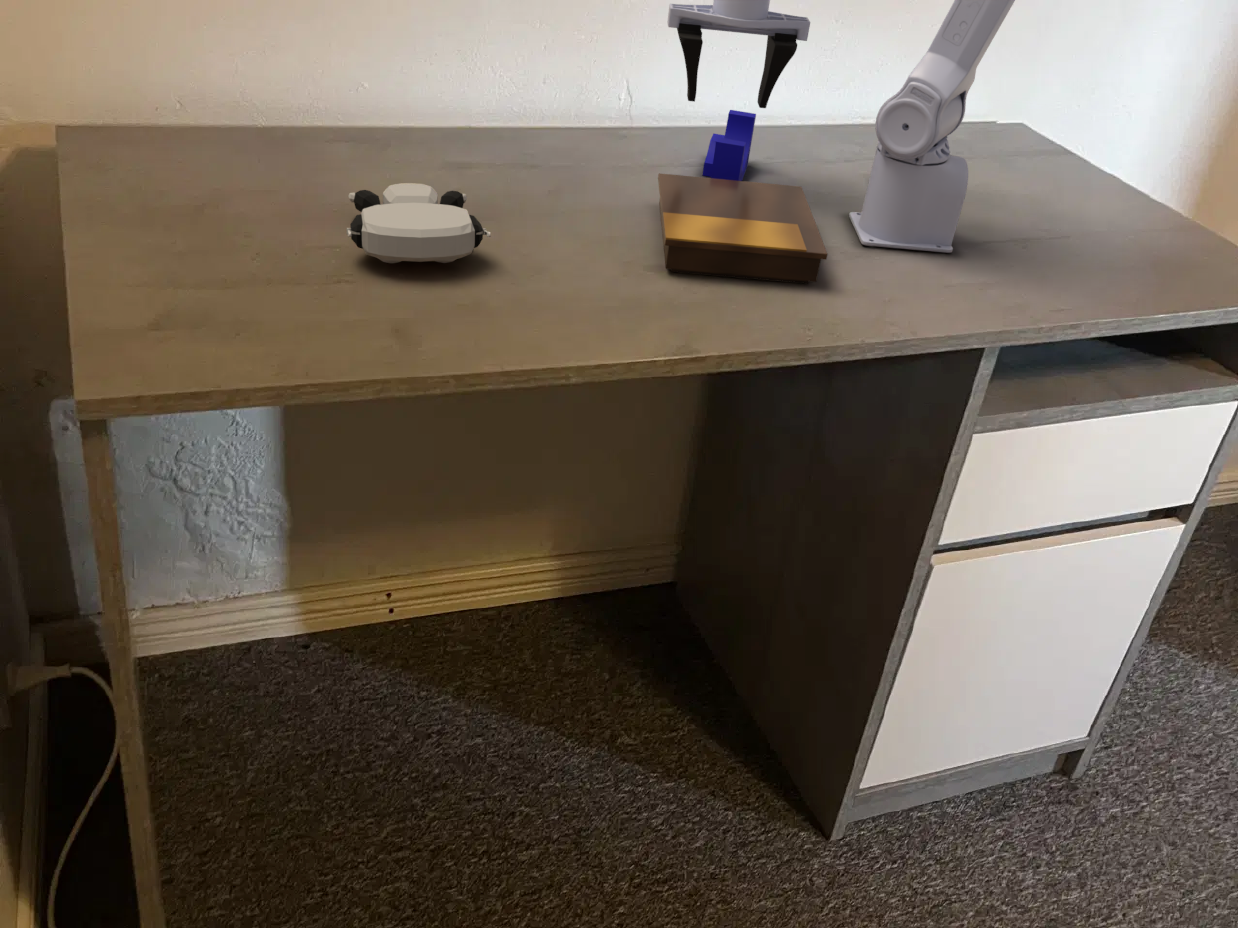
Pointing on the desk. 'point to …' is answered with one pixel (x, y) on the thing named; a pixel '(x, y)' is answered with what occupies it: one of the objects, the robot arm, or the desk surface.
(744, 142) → the cable clip
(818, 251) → the walnut stand
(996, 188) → the desk surface
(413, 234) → the robot toy
